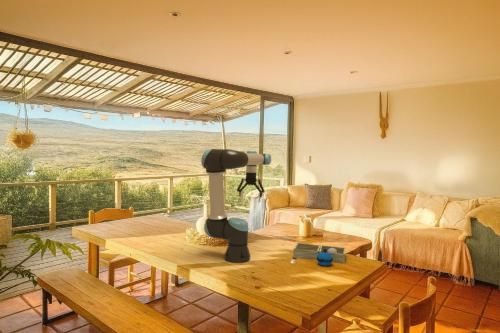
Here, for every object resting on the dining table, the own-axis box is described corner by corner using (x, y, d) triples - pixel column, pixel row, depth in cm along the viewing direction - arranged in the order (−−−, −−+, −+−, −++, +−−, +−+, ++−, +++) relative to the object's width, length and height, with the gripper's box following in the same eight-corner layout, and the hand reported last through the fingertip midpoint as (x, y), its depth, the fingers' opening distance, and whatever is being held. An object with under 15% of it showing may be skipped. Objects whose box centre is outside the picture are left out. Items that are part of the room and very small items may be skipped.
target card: (304, 265, 189) (304, 264, 189) (290, 263, 191) (290, 262, 191) (305, 261, 195) (305, 260, 195) (292, 260, 197) (292, 259, 197)
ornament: (335, 266, 188) (335, 248, 188) (327, 270, 182) (328, 251, 181) (321, 262, 194) (322, 245, 194) (313, 266, 188) (314, 248, 187)
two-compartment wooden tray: (344, 265, 191) (345, 254, 191) (292, 258, 200) (293, 249, 199) (345, 257, 205) (345, 247, 205) (296, 252, 214) (296, 242, 214)
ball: (337, 260, 197) (337, 249, 196) (326, 258, 198) (327, 248, 198) (337, 257, 202) (337, 247, 202) (327, 255, 204) (327, 246, 204)
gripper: (269, 172, 242) (268, 201, 242) (236, 171, 248) (235, 199, 249) (267, 173, 234) (266, 203, 235) (233, 171, 241) (232, 200, 241)
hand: (250, 201), depth 242 cm, fingers open, 13 cm apart
